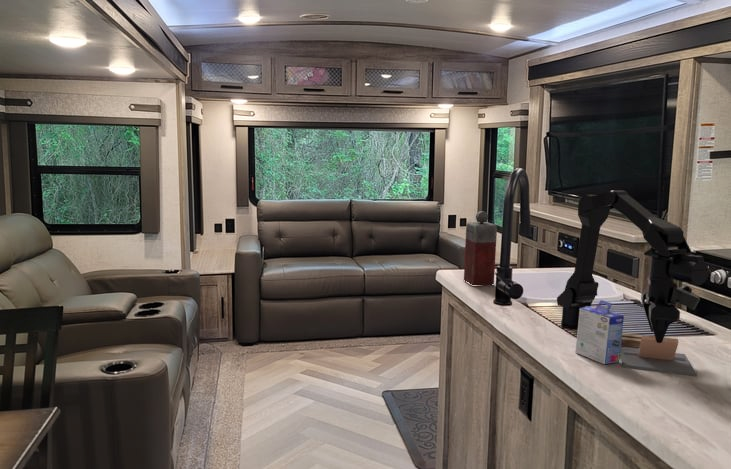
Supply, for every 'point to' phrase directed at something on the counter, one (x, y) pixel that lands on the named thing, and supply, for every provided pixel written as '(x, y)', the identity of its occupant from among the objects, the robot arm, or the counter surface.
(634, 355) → the mat
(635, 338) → the stand
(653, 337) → the tile
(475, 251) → the square decanter
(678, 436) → the counter surface
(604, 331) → the ink cartridge box
